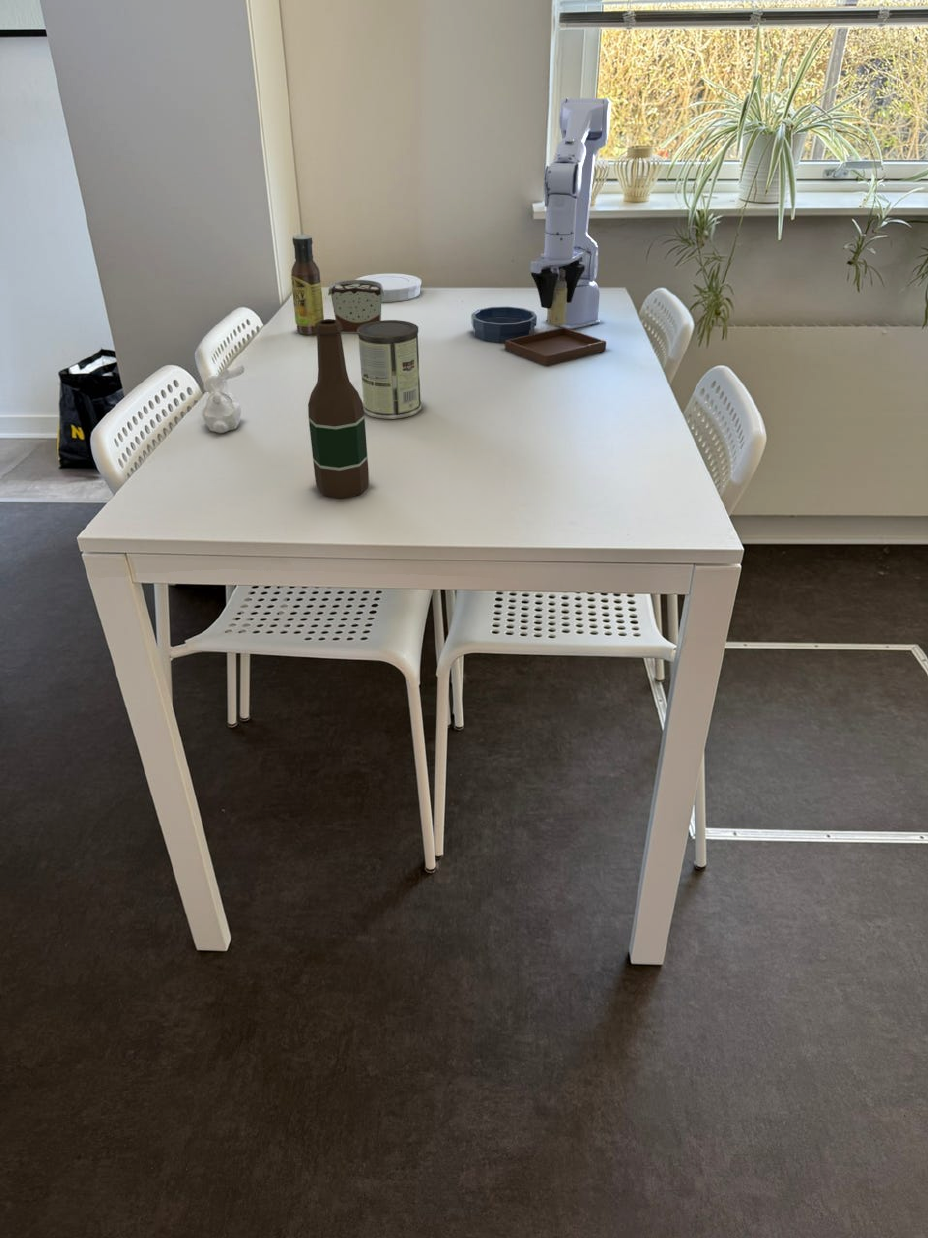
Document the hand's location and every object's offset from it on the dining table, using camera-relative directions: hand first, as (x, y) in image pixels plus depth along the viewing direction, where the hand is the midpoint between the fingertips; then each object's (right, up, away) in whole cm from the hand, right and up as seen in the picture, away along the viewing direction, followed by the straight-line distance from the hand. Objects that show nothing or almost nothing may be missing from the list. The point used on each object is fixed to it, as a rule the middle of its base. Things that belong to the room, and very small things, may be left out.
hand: (556, 304), depth 179 cm
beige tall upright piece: (0, -3, +2) cm, 4 cm away
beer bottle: (-36, -44, -49) cm, 75 cm away
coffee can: (-31, -26, -22) cm, 47 cm away
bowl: (-10, -1, +15) cm, 18 cm away
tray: (0, -8, +5) cm, 9 cm away
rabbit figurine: (-59, -30, -27) cm, 72 cm away
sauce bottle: (-53, 0, +18) cm, 55 cm away
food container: (-42, +1, +19) cm, 46 cm away
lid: (-39, +18, +44) cm, 62 cm away
